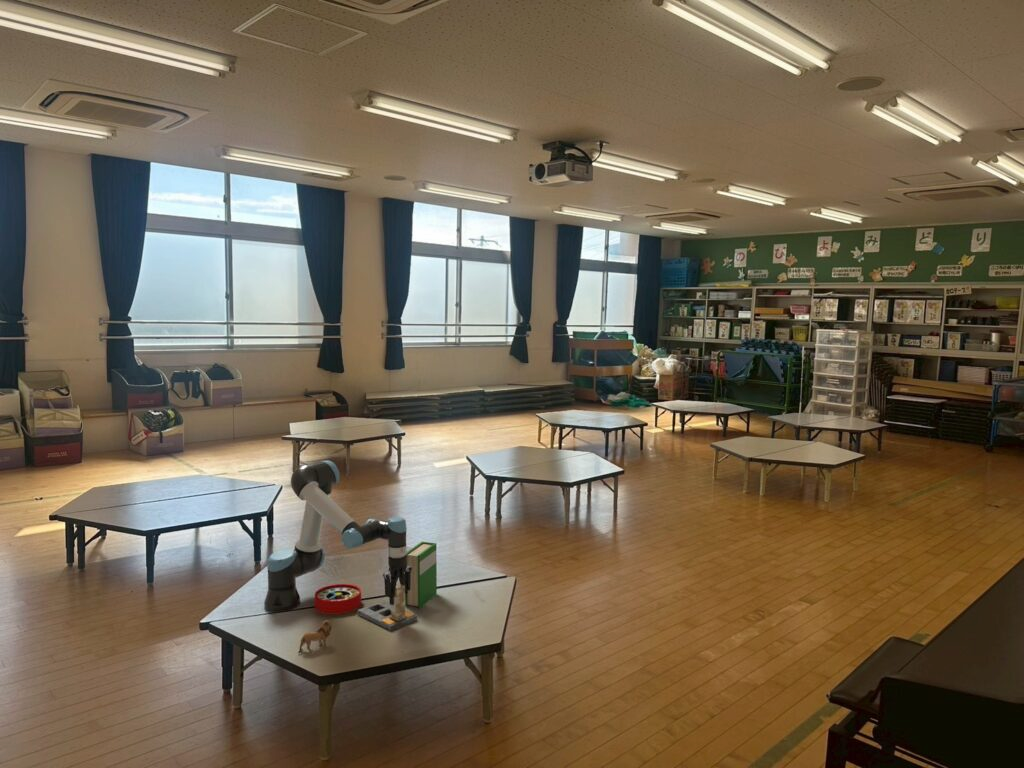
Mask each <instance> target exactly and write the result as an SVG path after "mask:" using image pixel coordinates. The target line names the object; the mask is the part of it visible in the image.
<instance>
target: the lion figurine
mask: <svg viewBox="0 0 1024 768" xmlns="http://www.w3.org/2000/svg"><path fill="white" fill-rule="evenodd" d="M332 629H333V625H332V623H331V620H327V619H325V620H324V621H322V622H321V626H320V627H319V629H317V631H314V632H306V633H304V634H303V635H302V637H301V640H300V644H299V651H298V652H297V654H300V653H301V652H303V651H304V648H303V646H304V645H305V644H306V649H307V650H308V651H309V652H310V653H312V652H314V651H313V649H312V648H310V647H311V643H312V642H318V644H319V646H321V645H323V648H324V647H325V648H326V647H327V646H328V645H327V644H326V643H327V638H328V637H329V636H330V635H331V632H332Z"/></svg>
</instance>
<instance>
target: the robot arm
mask: <svg viewBox="0 0 1024 768" xmlns="http://www.w3.org/2000/svg"><path fill="white" fill-rule="evenodd" d="M339 481H340V472H339V468H338V467H337V465H336V464H335V462H333V461H331V460H320V461H317V462H312V463H308V464H302V465H300V466H298V467H297V468H295V470H293V472H292V473H291V476H290V486H291V489H292V491H293V492H294V494H295V495H296V497H298V499H300V500H301V501H305V506H304V510H303V511H304V512H303V516H302V517H303V519H302V524H301V529H300V536H299V540H297V541H296V542H295V543H294V544H295V545H294V548H293V549H294V550H292V549H282V550H281V549H280V550H278V551H275V552H272V553H271V554H270V555H269V556H268V558H267V565H266V568H267V591H266V595H265V598H264V602H263V603H264V606H263V607H264V609H265V610H266V611H268V612H276V613H280V612H286V611H287V612H288V611H290V610H294V609H296V608H297V607H299V606H300V605H301V597H300V594H299V591H298V589H297V584H296V582H297V581H296V579H297V578H299V577H301V576H304V575H306V574H309V573H313V572H314V571H315V572H316V570H318V569H320V568H321V567H322V566H323V564H324V562H325V557H326V554H325V553H326V552H324V551H325V550H324V548H323V547H322V544H321V543H320V537H321V532H322V526H323V520H324V519H325V521H327V522H328V524H330V525H331V526H332V528H334V529H335V530H336V531H337V532H338V533H339V534H340V535H341V541H342V543H343V546H344V547H345V548H347V549H355V548H359V547H361V546H363V545H366V544H368V543H371V542H374V541H376V540H379V539H380V540H386V541H387V555H388V559H387V560H388V561H387V563H388V564H387V565H388V570H387V572H386V573H383V575H382V576H383V579H384V596H385V597H387V598H388V600H389V601H388V603H390V605H391V611H392V612H394V613H396V597H395V590H396V584H398V583H397V582H398V581H399V584H402V585H404V586H405V600H406V594H407V593H408V590H410V584H411V570H412V567H409V566H406V564H407V556H406V552H407V522H406V519H405V518H404V517H397V516H396V517H395V516H394V517H390V518H388V519H387V520H384V519H383V520H382V519H379V518H369V519H367V520H366V521H365V523H364V524H362V525H361V524H358V522H357V521H355V520H354V519H353V518H352V517H351V516H350V515H349V514H348V513H347V512H346V511H344V509H342V508H341V507H340V506H339V505H338V504H337V503H336V502H335V501H334V500H333V499H332V498H331V497H330V495H331V494H332V491H333V486H335V485H336V484H337V483H339Z"/></svg>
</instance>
